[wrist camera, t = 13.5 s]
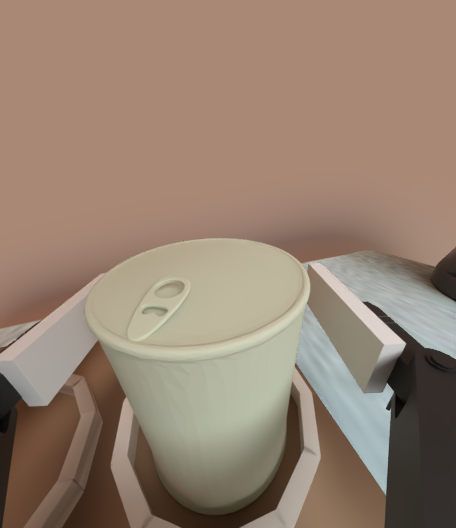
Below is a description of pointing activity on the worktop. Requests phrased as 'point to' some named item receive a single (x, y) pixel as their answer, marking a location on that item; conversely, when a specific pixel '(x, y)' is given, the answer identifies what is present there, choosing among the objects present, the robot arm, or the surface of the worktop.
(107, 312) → the can
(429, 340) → the worktop surface
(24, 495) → the walnut board
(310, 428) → the ring
